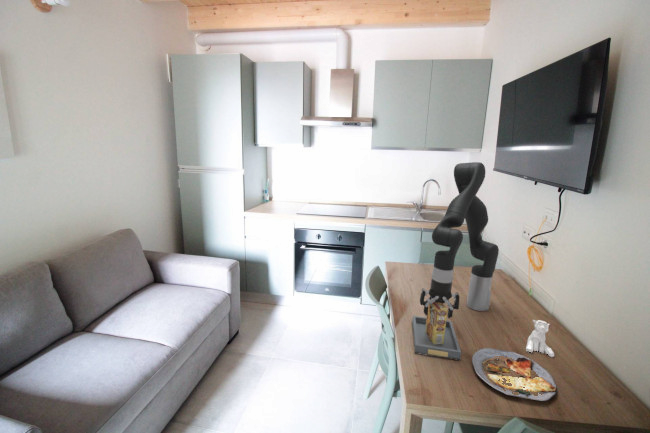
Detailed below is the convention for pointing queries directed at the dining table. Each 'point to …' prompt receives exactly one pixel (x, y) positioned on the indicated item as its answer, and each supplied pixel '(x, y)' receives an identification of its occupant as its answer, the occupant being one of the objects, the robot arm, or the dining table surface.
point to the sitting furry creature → (539, 339)
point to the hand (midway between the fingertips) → (437, 315)
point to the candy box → (436, 322)
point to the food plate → (521, 367)
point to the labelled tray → (425, 344)
